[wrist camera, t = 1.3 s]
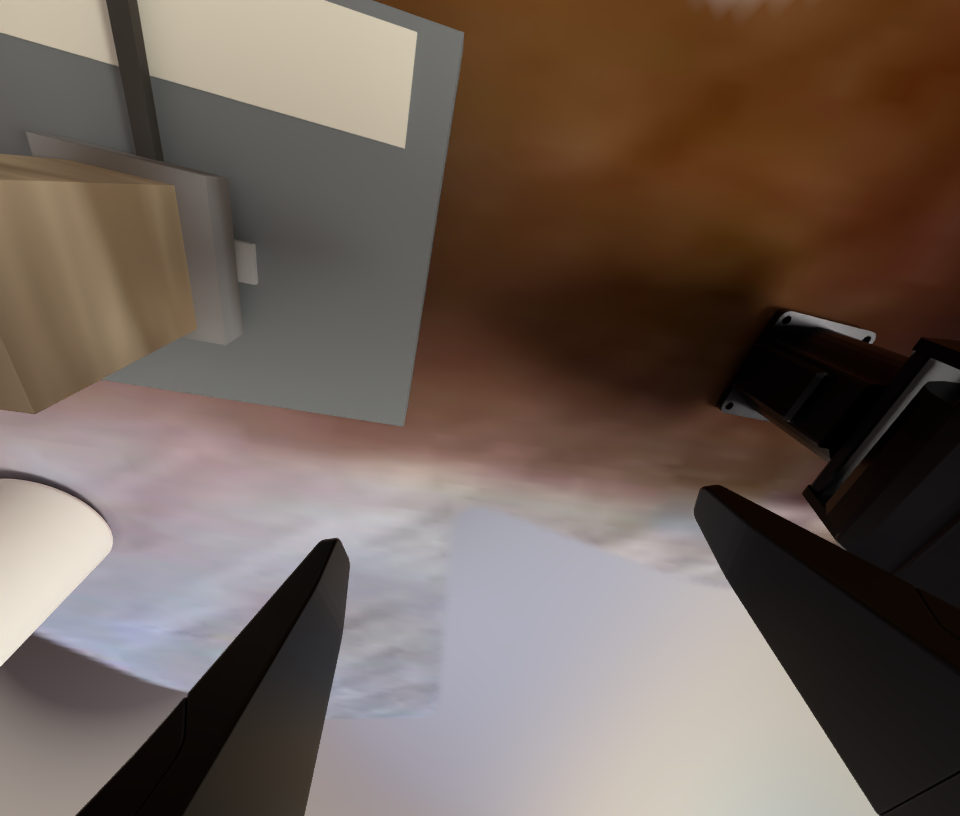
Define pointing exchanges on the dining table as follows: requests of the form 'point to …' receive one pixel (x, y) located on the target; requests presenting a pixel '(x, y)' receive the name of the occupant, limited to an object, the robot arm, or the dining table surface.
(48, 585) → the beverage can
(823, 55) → the dining table surface
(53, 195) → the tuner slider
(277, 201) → the board
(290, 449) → the dining table surface
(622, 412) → the dining table surface
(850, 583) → the robot arm
